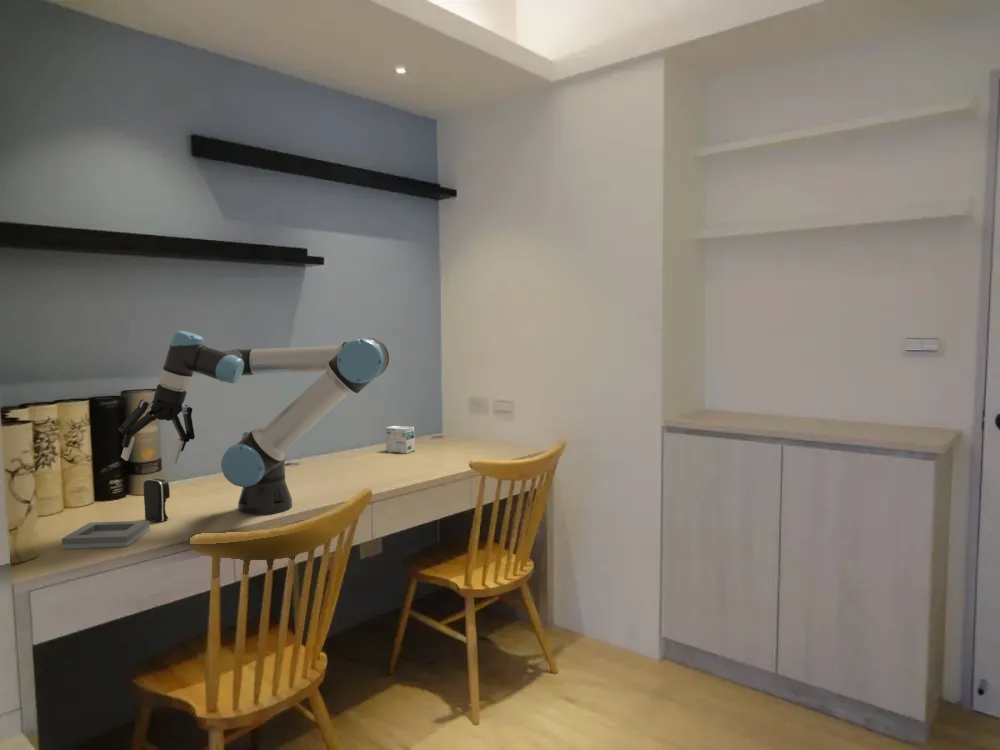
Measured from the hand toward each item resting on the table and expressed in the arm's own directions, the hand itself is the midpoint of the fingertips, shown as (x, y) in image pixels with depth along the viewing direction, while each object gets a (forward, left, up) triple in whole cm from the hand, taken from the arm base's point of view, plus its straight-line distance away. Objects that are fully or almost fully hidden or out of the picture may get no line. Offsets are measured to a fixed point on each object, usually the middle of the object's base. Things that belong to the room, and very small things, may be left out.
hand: (149, 460), depth 190 cm
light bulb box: (-64, -100, -17) cm, 120 cm away
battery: (-1, -2, -17) cm, 18 cm away
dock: (+5, +15, -17) cm, 23 cm away
